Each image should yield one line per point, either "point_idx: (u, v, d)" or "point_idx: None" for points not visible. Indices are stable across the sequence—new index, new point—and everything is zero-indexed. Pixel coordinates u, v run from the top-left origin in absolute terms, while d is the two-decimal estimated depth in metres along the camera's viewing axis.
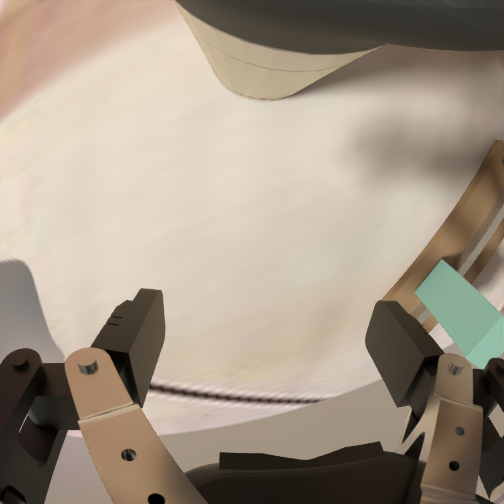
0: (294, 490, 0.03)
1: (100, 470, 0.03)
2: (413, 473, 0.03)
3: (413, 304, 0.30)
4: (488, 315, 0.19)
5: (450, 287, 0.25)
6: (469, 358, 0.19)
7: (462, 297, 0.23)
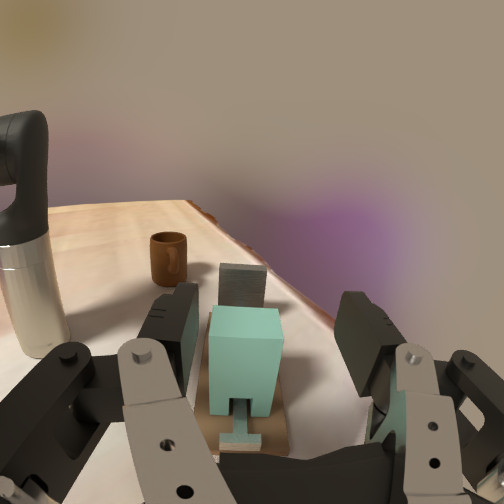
0: (294, 490, 0.03)
1: (135, 456, 0.03)
2: None
3: (225, 425, 0.27)
4: None
5: None
6: (218, 335, 0.24)
7: None
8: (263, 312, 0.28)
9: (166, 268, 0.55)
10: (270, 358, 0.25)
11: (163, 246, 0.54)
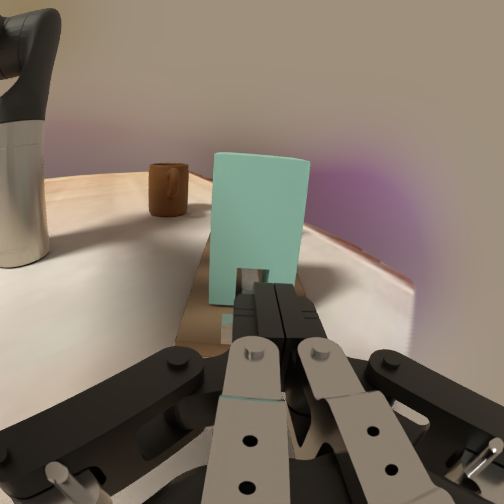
0: (294, 490, 0.03)
1: (214, 443, 0.04)
2: None
3: None
4: None
5: None
6: (227, 154, 0.19)
7: None
8: None
9: (165, 194, 0.50)
10: (293, 192, 0.20)
11: (163, 169, 0.48)
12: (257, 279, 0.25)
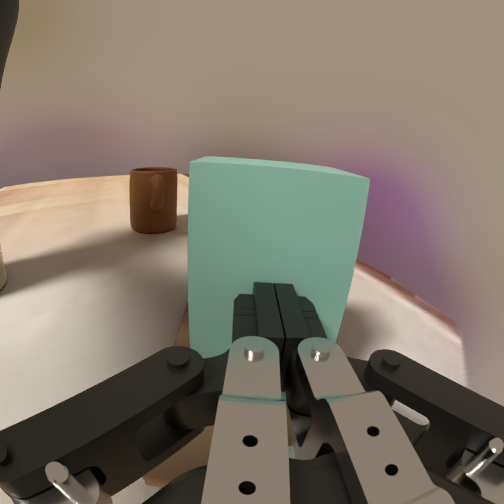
0: (294, 490, 0.03)
1: (214, 443, 0.04)
2: None
3: None
4: None
5: None
6: (215, 162, 0.10)
7: None
8: None
9: (148, 206, 0.40)
10: (338, 235, 0.11)
11: (145, 175, 0.39)
12: None
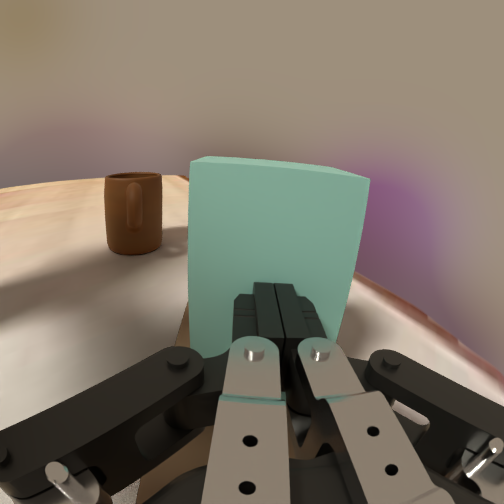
0: (294, 490, 0.03)
1: (214, 443, 0.04)
2: None
3: None
4: None
5: None
6: (215, 162, 0.10)
7: None
8: (306, 164, 0.14)
9: (125, 222, 0.32)
10: (338, 236, 0.11)
11: (121, 184, 0.30)
12: None
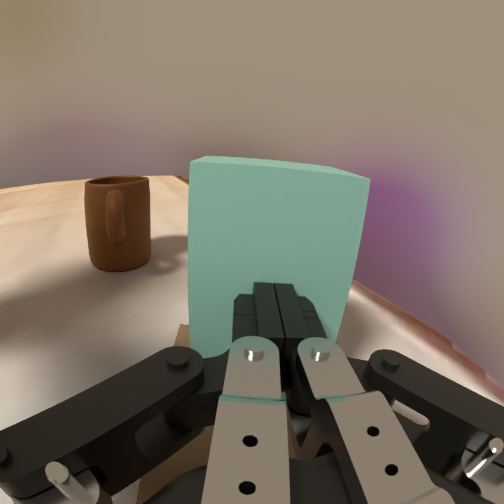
0: (294, 490, 0.03)
1: (214, 443, 0.04)
2: None
3: None
4: None
5: None
6: (215, 162, 0.10)
7: None
8: (306, 164, 0.14)
9: (107, 235, 0.27)
10: (338, 236, 0.11)
11: (101, 191, 0.26)
12: None
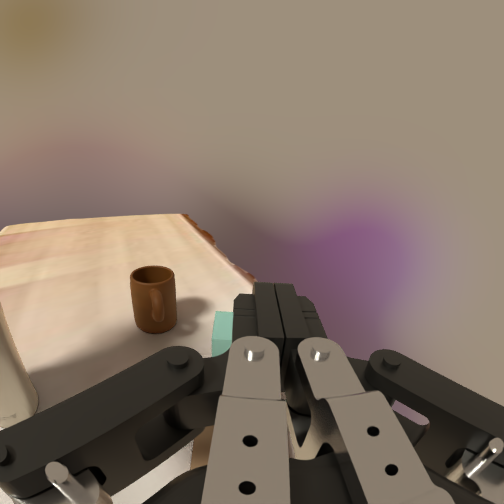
0: (294, 490, 0.03)
1: (214, 443, 0.04)
2: None
3: None
4: None
5: None
6: (221, 338, 0.26)
7: None
8: None
9: (150, 313, 0.44)
10: None
11: (145, 287, 0.42)
12: None
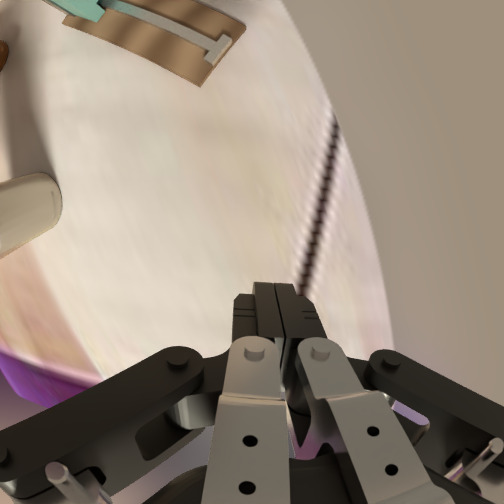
0: (294, 490, 0.03)
1: (214, 443, 0.04)
2: None
3: (193, 51, 0.29)
4: None
5: (69, 9, 0.21)
6: None
7: (60, 3, 0.19)
8: None
9: None
10: None
11: None
12: (177, 23, 0.26)
